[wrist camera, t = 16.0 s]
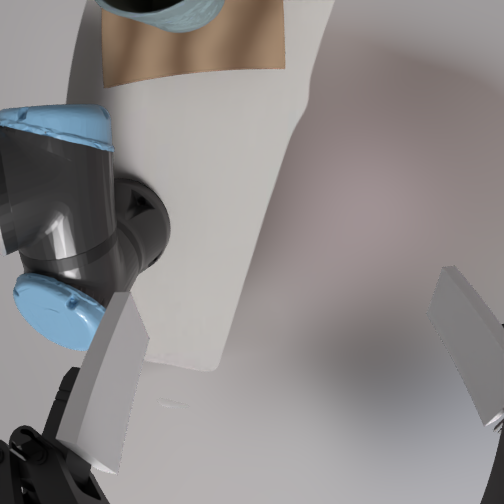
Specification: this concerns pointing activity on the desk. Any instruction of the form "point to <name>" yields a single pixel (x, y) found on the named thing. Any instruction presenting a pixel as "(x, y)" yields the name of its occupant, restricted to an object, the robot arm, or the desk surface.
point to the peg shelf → (194, 44)
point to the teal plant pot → (166, 12)
